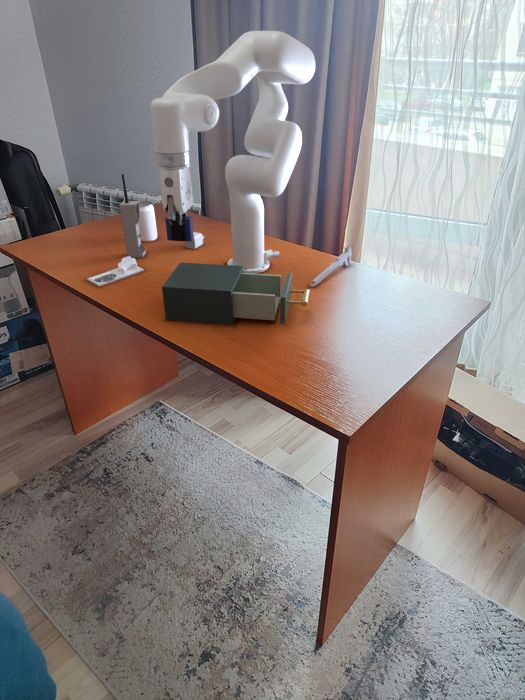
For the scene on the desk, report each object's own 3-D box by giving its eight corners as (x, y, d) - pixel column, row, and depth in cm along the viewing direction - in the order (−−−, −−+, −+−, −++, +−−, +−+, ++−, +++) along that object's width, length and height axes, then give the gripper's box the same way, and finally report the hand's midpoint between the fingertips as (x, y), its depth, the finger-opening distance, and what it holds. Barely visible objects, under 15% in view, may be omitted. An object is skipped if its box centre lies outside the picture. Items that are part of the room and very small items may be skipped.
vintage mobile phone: (143, 257, 156) (131, 175, 143) (127, 257, 156) (114, 175, 143) (146, 253, 159) (134, 172, 146) (130, 253, 159) (117, 172, 146)
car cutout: (131, 264, 152) (129, 250, 149) (144, 270, 148) (142, 256, 145) (87, 280, 142) (83, 265, 140) (99, 286, 139) (96, 271, 136)
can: (137, 236, 172) (132, 201, 166) (156, 234, 174) (152, 200, 167) (139, 243, 167) (134, 207, 161) (158, 240, 169) (154, 205, 162)
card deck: (193, 238, 122) (192, 216, 120) (191, 241, 120) (189, 219, 118) (170, 237, 123) (168, 215, 120) (167, 240, 121) (165, 218, 118)
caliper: (347, 264, 151) (349, 244, 148) (350, 264, 151) (352, 245, 147) (309, 286, 138) (310, 265, 134) (312, 287, 137) (313, 266, 134)
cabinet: (244, 297, 132) (243, 266, 128) (232, 325, 120) (231, 291, 115) (183, 293, 135) (180, 262, 130) (165, 319, 122) (161, 286, 118)
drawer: (309, 299, 129) (311, 274, 125) (305, 325, 118) (306, 298, 114) (232, 294, 132) (231, 269, 128) (220, 319, 121) (219, 292, 117)
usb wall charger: (185, 247, 163) (184, 235, 161) (197, 240, 169) (197, 229, 166) (195, 249, 162) (194, 237, 160) (207, 242, 167) (206, 231, 165)
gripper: (179, 167, 105) (187, 251, 115) (198, 152, 118) (203, 228, 128) (145, 166, 106) (155, 249, 115) (167, 151, 119) (175, 227, 129)
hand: (180, 237), depth 122 cm, fingers closed on card deck, 2 cm apart
